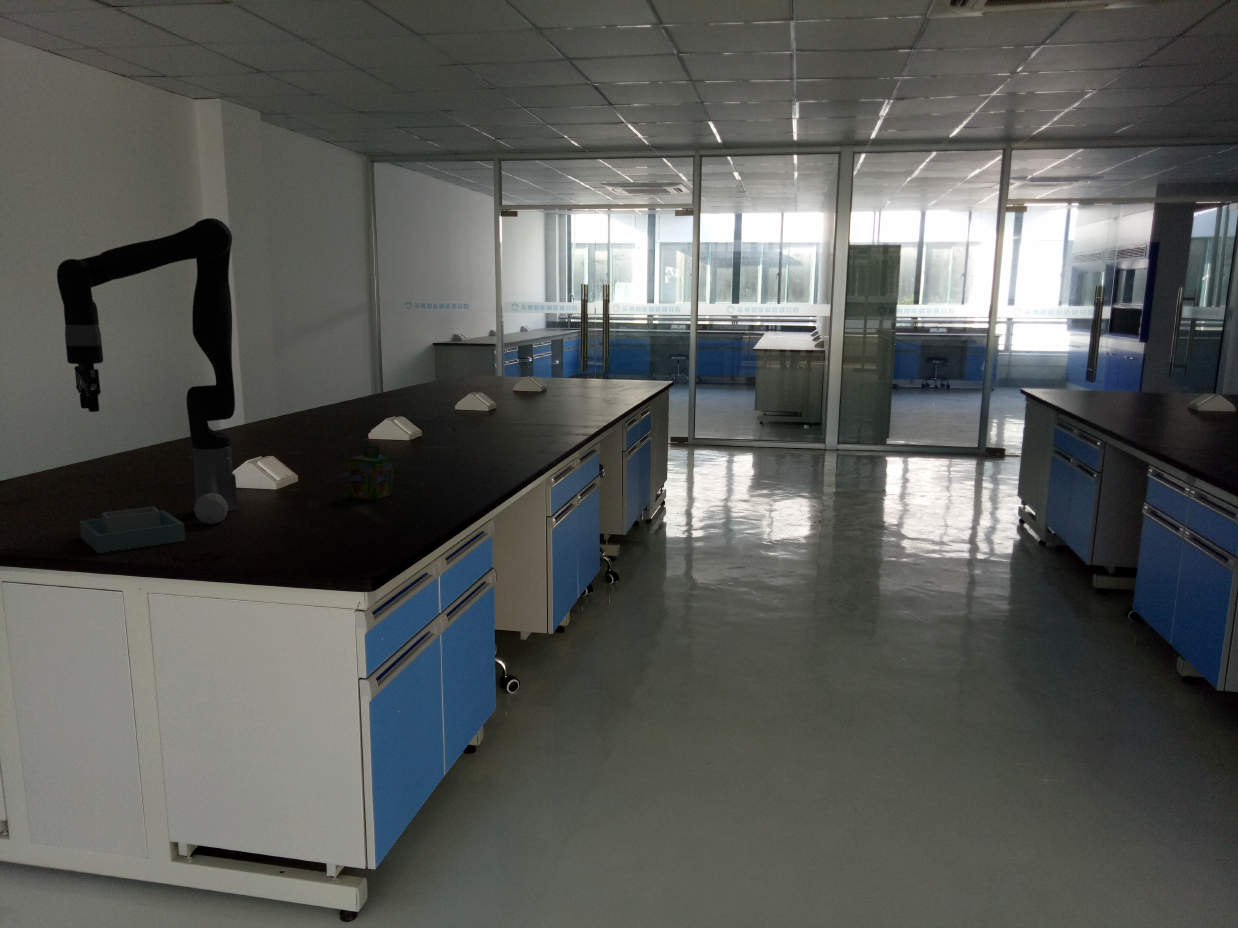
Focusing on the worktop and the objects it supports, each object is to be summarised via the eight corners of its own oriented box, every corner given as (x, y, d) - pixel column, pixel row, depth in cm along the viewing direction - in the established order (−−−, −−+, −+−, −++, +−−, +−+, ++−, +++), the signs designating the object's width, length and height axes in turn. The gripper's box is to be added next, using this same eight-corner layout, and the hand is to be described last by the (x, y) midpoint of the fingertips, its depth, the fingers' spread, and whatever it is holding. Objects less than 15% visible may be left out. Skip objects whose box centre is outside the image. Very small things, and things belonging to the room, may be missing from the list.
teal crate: (164, 527, 220) (163, 510, 219) (185, 542, 207) (184, 523, 207) (81, 539, 208) (79, 521, 207) (98, 555, 196) (96, 536, 195)
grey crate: (156, 530, 213) (154, 506, 212) (161, 536, 209) (159, 511, 207) (104, 537, 207) (101, 512, 205) (108, 543, 202) (106, 517, 201)
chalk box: (348, 498, 253) (346, 447, 250) (367, 492, 261) (365, 442, 259) (375, 501, 250) (373, 449, 247) (394, 494, 258) (392, 444, 256)
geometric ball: (203, 533, 223) (185, 507, 223) (233, 518, 228) (215, 492, 228) (206, 525, 217) (188, 498, 217) (236, 509, 222) (218, 483, 222)
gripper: (108, 344, 213) (114, 412, 216) (94, 342, 223) (100, 406, 226) (72, 345, 208) (78, 414, 211) (60, 342, 218) (66, 408, 221)
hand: (90, 409), depth 218 cm, fingers open, 8 cm apart
